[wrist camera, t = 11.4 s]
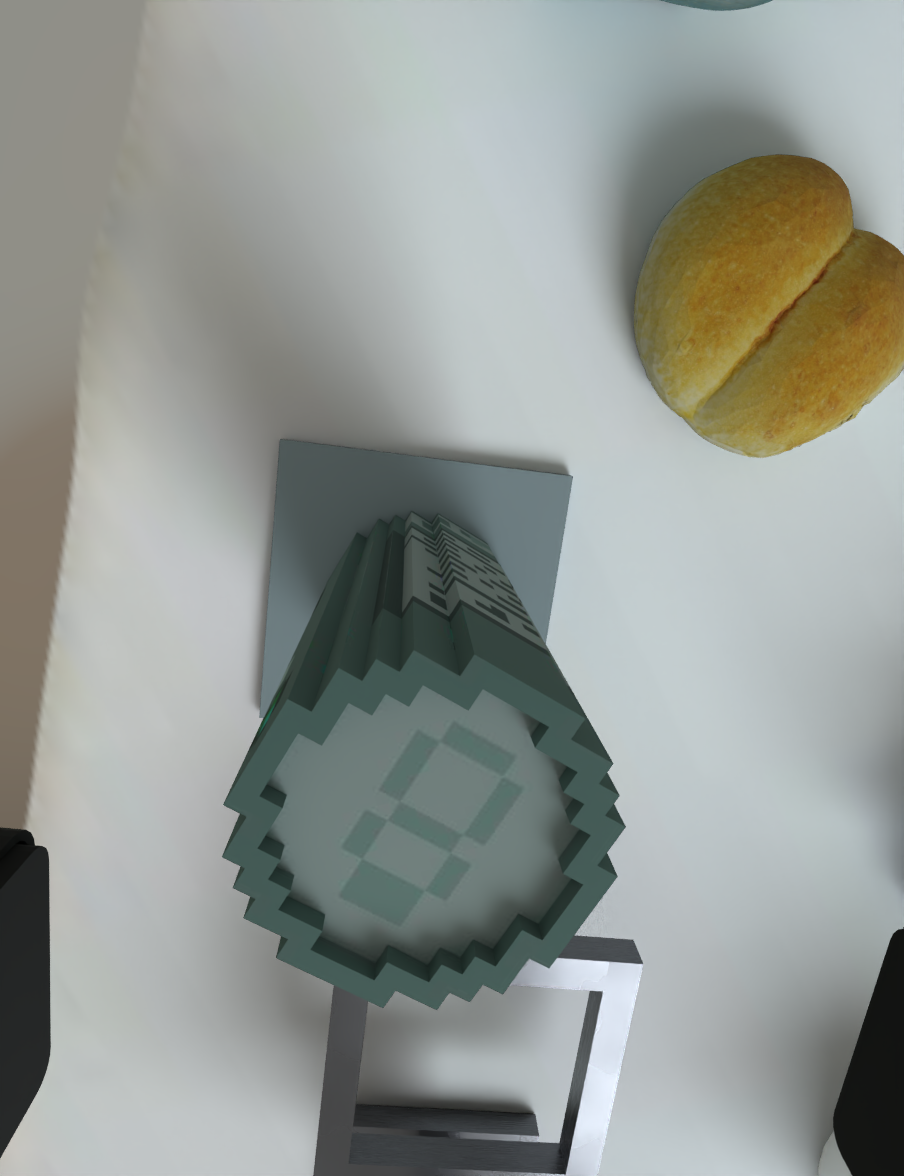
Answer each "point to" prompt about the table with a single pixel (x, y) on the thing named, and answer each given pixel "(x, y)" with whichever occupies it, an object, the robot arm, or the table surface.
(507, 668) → the can
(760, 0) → the flower pot
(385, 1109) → the ring stand
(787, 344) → the bread roll
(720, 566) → the table surface
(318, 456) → the coaster
